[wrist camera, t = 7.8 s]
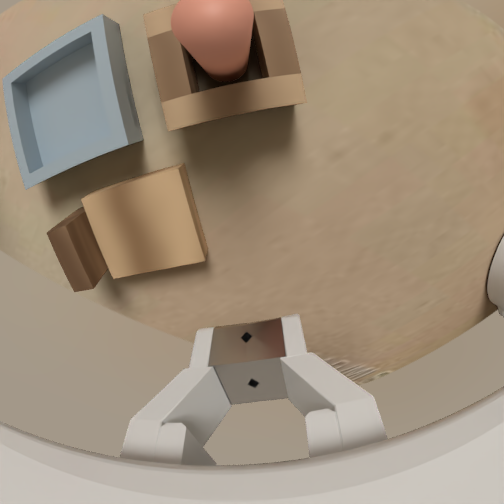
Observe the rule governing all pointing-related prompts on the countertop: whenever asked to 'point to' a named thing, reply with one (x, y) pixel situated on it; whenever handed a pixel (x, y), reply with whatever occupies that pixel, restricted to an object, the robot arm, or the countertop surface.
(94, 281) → the block
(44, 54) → the tray
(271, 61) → the socket block
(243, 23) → the dowel
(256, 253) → the countertop surface
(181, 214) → the tan wooden cuboid
